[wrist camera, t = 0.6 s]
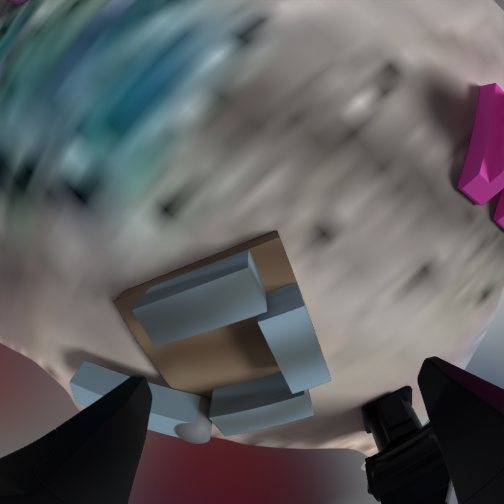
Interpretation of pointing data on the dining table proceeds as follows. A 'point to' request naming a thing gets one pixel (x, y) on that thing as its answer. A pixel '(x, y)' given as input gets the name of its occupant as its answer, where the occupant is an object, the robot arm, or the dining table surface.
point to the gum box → (18, 1)
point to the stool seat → (232, 335)
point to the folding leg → (163, 403)
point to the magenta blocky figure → (486, 152)
